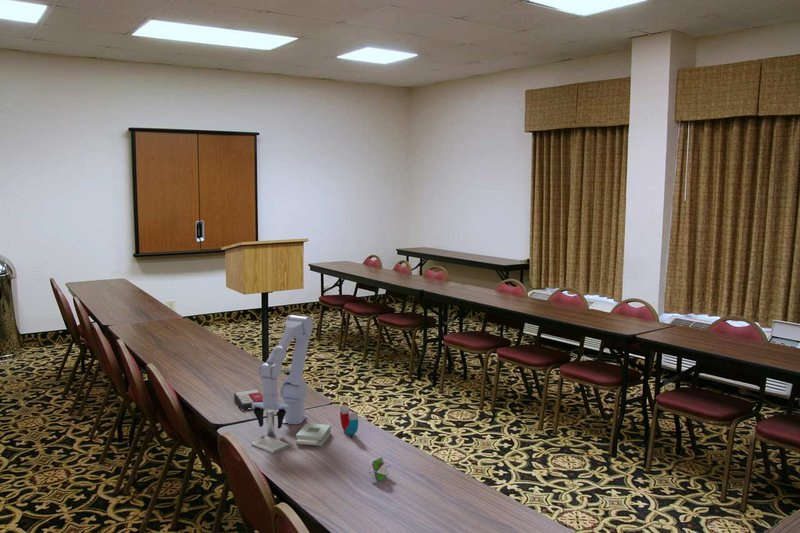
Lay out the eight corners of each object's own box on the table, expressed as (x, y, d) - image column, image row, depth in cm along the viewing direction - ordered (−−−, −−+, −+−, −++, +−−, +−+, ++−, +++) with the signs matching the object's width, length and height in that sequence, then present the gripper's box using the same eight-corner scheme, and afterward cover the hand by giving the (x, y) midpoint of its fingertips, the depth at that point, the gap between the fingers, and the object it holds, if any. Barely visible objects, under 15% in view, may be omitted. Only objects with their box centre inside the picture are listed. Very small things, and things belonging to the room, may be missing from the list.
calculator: (241, 403, 270) (233, 391, 284) (242, 412, 271) (234, 400, 284) (266, 399, 276) (257, 388, 289) (266, 408, 276) (257, 396, 289)
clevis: (306, 431, 248) (306, 423, 248) (330, 433, 247) (330, 425, 246) (294, 446, 235) (294, 436, 234) (319, 448, 233) (319, 439, 233)
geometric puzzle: (361, 470, 211) (371, 456, 207) (376, 464, 216) (386, 450, 211) (373, 488, 207) (383, 474, 203) (388, 481, 212) (398, 468, 208)
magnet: (358, 437, 243) (358, 413, 242) (352, 439, 242) (352, 414, 240) (346, 427, 253) (346, 403, 252) (340, 428, 252) (339, 405, 251)
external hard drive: (273, 455, 228) (251, 446, 236) (289, 447, 235) (267, 439, 242) (273, 451, 228) (250, 442, 235) (289, 443, 234) (267, 435, 242)
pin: (268, 432, 248) (268, 410, 246) (275, 432, 247) (275, 411, 246) (265, 435, 245) (265, 413, 244) (272, 435, 244) (272, 413, 243)
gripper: (248, 395, 241) (249, 429, 243) (284, 398, 239) (284, 432, 240) (255, 389, 248) (256, 422, 250) (290, 392, 245) (290, 425, 247)
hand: (270, 426), depth 245 cm, fingers open, 7 cm apart
